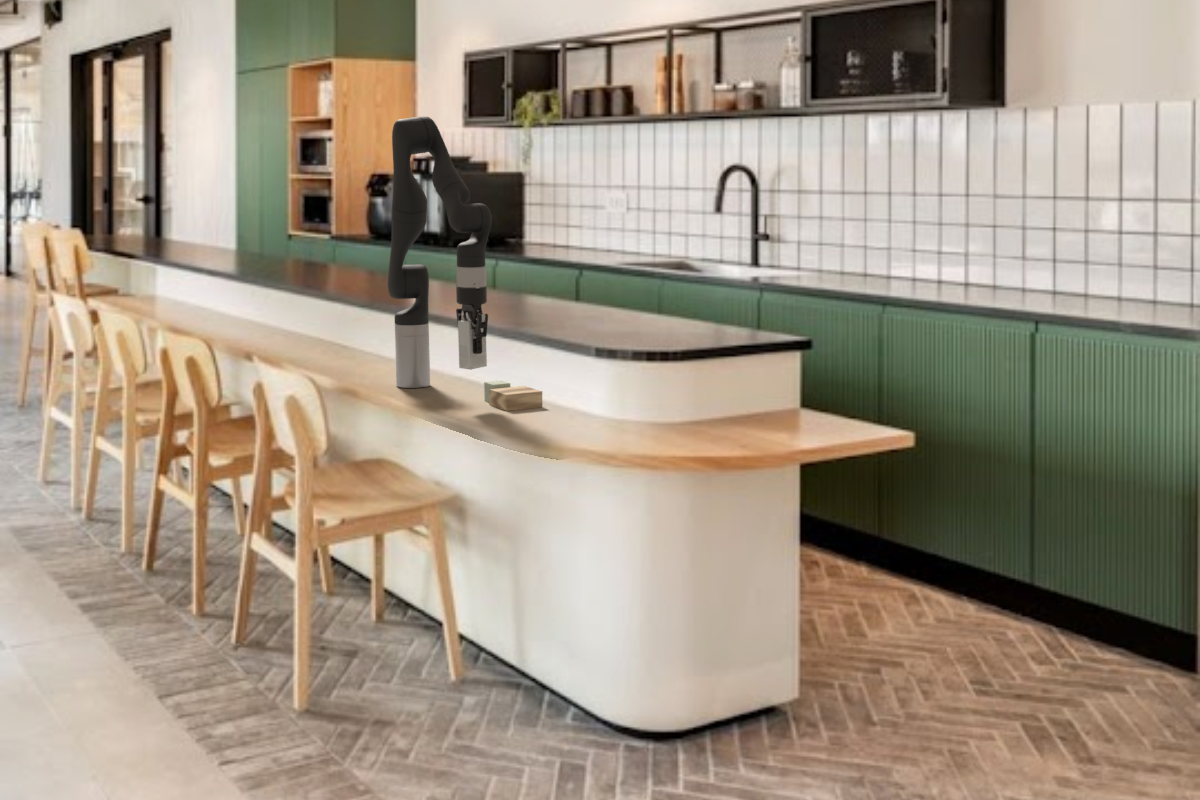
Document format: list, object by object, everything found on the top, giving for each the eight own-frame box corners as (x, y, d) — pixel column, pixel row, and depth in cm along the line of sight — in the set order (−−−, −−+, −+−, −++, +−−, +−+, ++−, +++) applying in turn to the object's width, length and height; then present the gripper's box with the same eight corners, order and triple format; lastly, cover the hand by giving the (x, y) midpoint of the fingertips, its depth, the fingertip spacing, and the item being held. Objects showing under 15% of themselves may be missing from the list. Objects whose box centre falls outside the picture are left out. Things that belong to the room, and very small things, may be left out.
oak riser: (489, 404, 372) (489, 389, 371) (524, 401, 377) (524, 385, 376) (506, 410, 363) (506, 394, 363) (542, 407, 368) (542, 391, 368)
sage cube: (484, 401, 378) (484, 382, 377) (502, 399, 380) (501, 380, 379) (493, 404, 374) (492, 384, 373) (510, 402, 376) (510, 383, 375)
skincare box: (474, 365, 371) (474, 318, 369) (487, 366, 368) (486, 319, 366) (458, 368, 366) (457, 320, 364) (470, 369, 364) (469, 322, 361)
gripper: (445, 282, 368) (447, 349, 371) (469, 288, 355) (471, 357, 359) (472, 281, 371) (473, 347, 374) (497, 286, 359) (498, 354, 362)
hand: (472, 351), depth 366 cm, fingers closed on skincare box, 5 cm apart
